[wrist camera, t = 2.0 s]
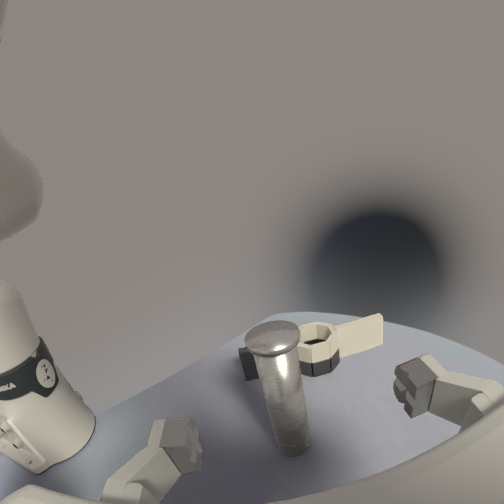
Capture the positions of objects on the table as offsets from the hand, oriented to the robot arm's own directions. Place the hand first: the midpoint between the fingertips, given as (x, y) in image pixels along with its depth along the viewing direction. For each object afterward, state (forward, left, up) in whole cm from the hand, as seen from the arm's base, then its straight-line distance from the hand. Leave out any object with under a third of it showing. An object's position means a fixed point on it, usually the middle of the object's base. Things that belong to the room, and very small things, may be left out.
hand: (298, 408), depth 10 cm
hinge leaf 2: (+10, +26, -19) cm, 34 cm away
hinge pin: (0, +12, -19) cm, 22 cm away
